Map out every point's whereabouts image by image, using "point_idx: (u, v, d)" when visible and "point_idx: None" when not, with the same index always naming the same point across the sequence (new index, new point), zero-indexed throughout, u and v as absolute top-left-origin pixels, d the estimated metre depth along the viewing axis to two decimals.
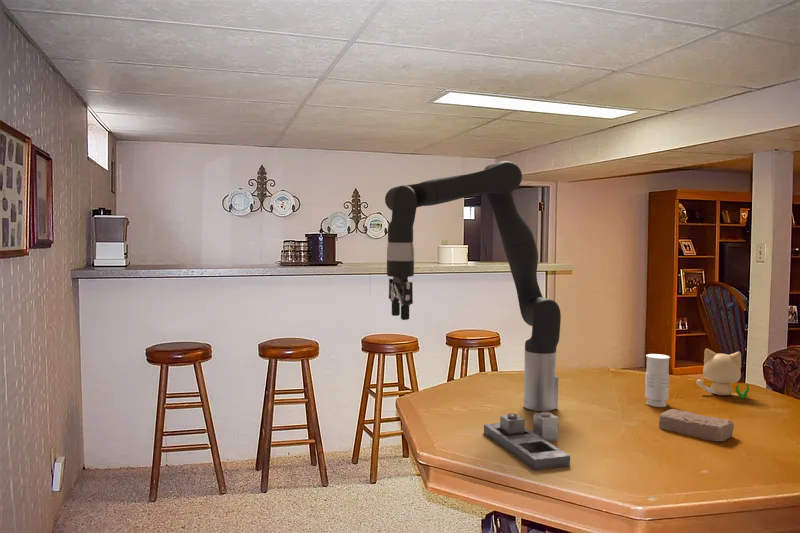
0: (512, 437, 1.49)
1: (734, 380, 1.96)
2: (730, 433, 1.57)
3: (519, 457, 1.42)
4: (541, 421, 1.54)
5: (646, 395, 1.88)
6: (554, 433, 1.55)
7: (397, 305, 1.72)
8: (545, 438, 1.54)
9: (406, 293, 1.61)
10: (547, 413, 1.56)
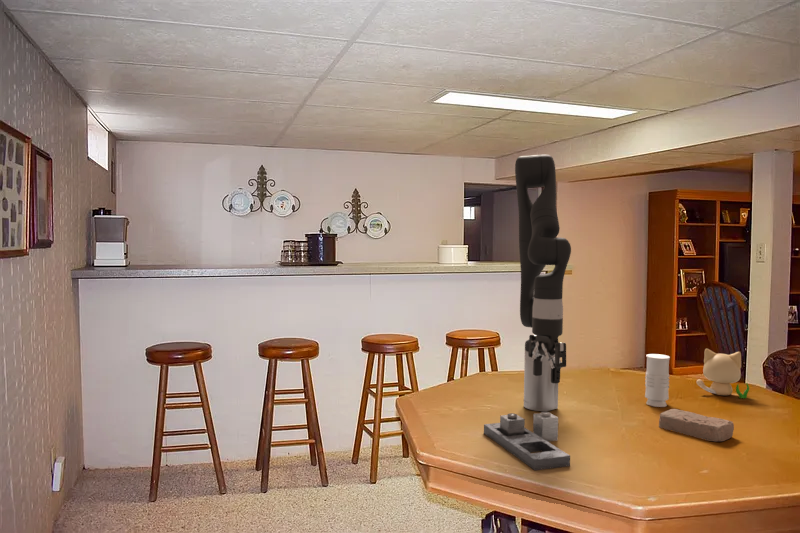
0: (512, 437, 1.49)
1: (734, 380, 1.96)
2: (729, 434, 1.57)
3: (519, 457, 1.42)
4: (541, 421, 1.54)
5: (646, 395, 1.88)
6: (554, 433, 1.55)
7: (539, 364, 1.59)
8: (545, 438, 1.54)
9: (560, 355, 1.48)
10: (547, 413, 1.56)
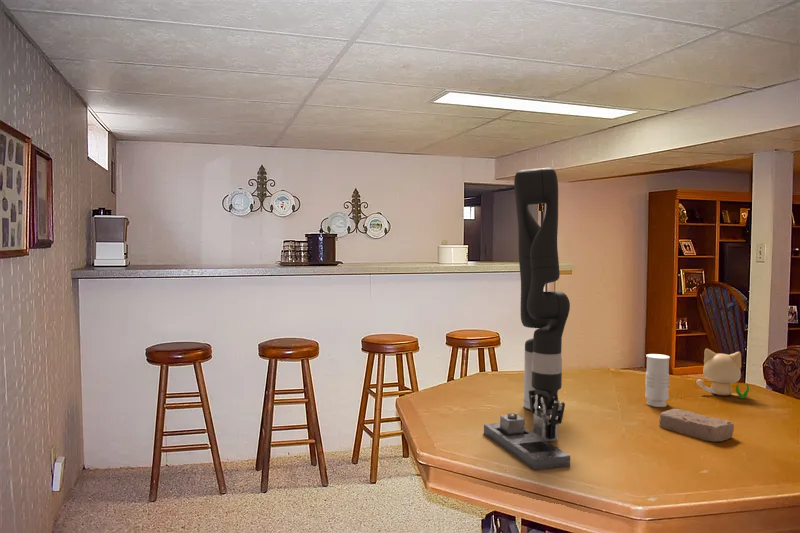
0: (512, 437, 1.49)
1: (734, 380, 1.96)
2: (729, 434, 1.56)
3: (519, 457, 1.42)
4: (541, 421, 1.54)
5: (646, 395, 1.88)
6: None
7: None
8: (545, 438, 1.54)
9: (557, 415, 1.50)
10: None
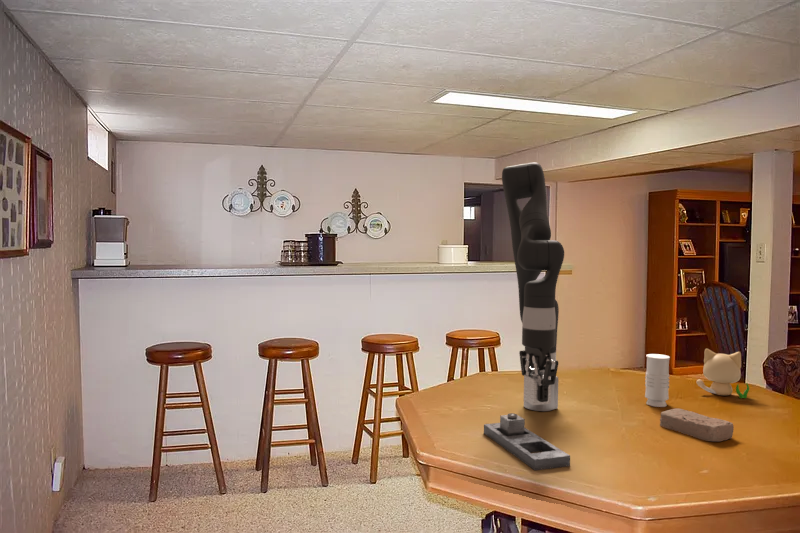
0: (512, 437, 1.49)
1: (734, 380, 1.96)
2: (728, 434, 1.56)
3: (519, 457, 1.42)
4: (533, 382, 1.40)
5: (646, 395, 1.88)
6: None
7: None
8: (537, 400, 1.40)
9: (549, 374, 1.36)
10: None
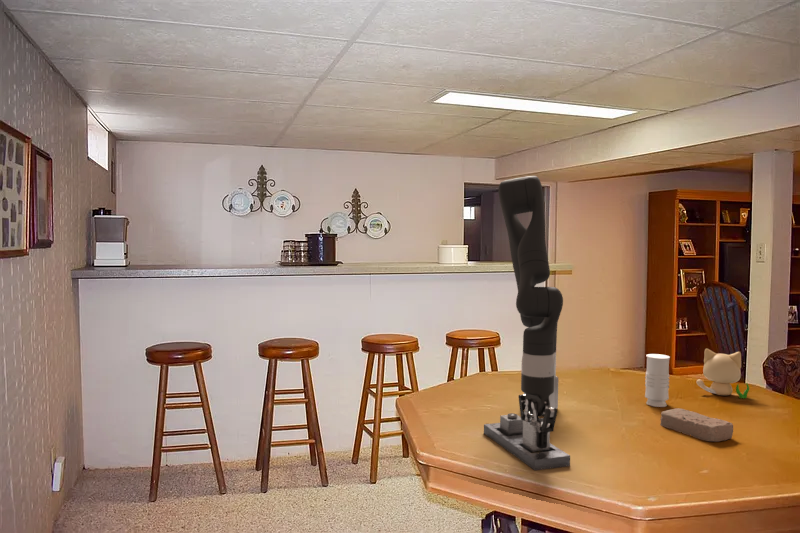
0: (512, 437, 1.49)
1: (734, 380, 1.96)
2: (727, 435, 1.56)
3: (519, 457, 1.42)
4: (532, 428, 1.40)
5: (646, 395, 1.88)
6: None
7: None
8: (536, 447, 1.41)
9: (548, 422, 1.37)
10: None
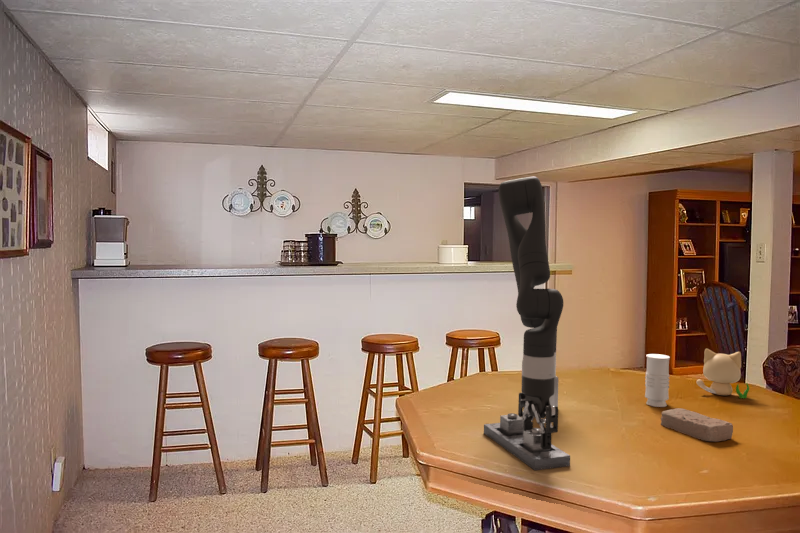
0: (512, 437, 1.49)
1: (734, 380, 1.96)
2: (727, 435, 1.56)
3: (519, 457, 1.42)
4: (532, 439, 1.40)
5: (646, 395, 1.88)
6: None
7: (530, 425, 1.47)
8: None
9: (551, 420, 1.36)
10: (538, 430, 1.42)
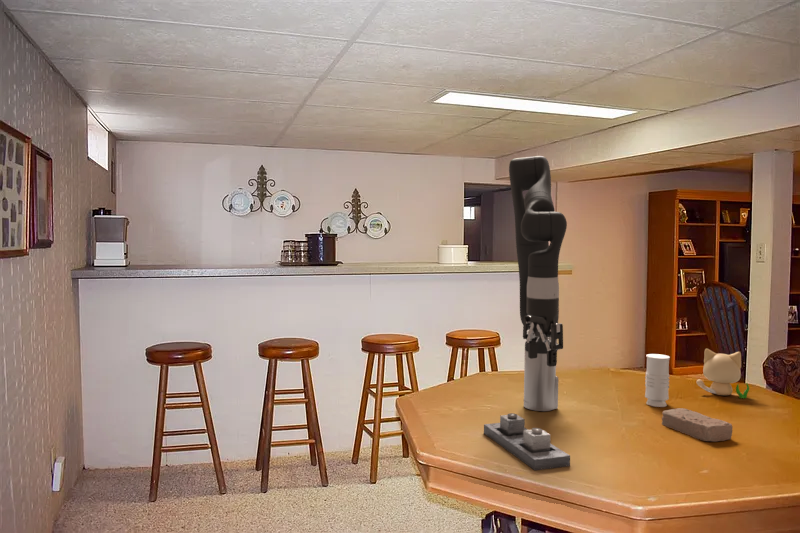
0: (512, 437, 1.49)
1: (734, 380, 1.96)
2: (725, 435, 1.56)
3: (519, 457, 1.42)
4: (532, 439, 1.40)
5: (646, 395, 1.88)
6: None
7: (535, 346, 1.51)
8: None
9: (556, 337, 1.40)
10: (538, 430, 1.42)
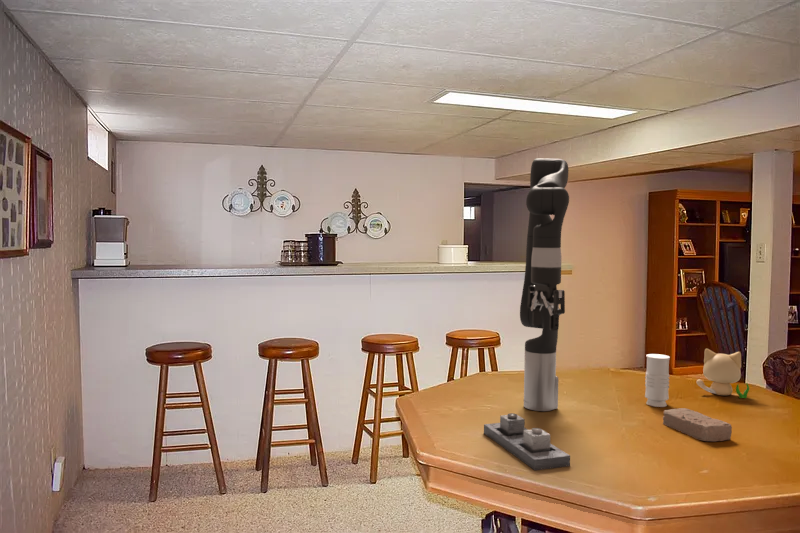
0: (512, 437, 1.49)
1: (734, 380, 1.96)
2: (724, 436, 1.55)
3: (519, 457, 1.42)
4: (532, 439, 1.40)
5: (646, 395, 1.88)
6: None
7: (538, 314, 1.62)
8: None
9: (558, 302, 1.51)
10: (538, 430, 1.42)
